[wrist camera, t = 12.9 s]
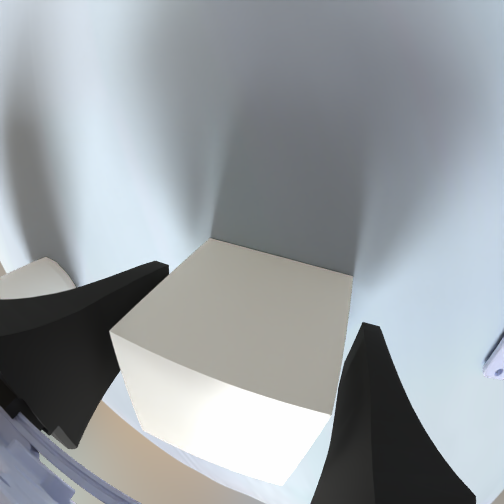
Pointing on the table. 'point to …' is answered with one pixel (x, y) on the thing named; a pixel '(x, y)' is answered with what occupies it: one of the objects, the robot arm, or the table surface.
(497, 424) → the table surface
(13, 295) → the foam cup
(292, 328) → the white cubic block
